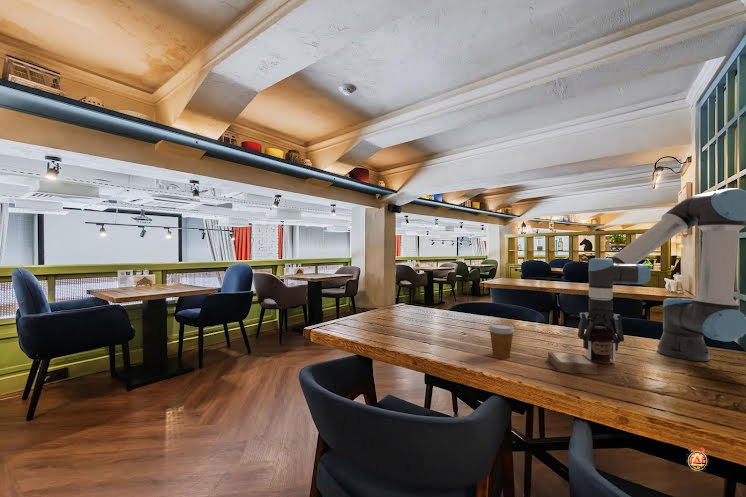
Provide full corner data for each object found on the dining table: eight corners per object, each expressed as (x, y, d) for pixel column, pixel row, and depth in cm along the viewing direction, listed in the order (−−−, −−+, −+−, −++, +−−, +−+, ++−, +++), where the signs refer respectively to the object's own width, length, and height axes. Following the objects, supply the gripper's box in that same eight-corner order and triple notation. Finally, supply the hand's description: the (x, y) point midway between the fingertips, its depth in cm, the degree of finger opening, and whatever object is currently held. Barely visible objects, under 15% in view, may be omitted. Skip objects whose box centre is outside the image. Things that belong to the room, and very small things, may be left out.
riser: (583, 362, 119) (583, 353, 119) (597, 374, 108) (597, 365, 108) (548, 359, 122) (548, 351, 122) (558, 371, 111) (558, 361, 111)
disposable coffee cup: (514, 354, 129) (514, 324, 129) (514, 361, 120) (514, 330, 120) (489, 350, 133) (489, 322, 133) (487, 357, 124) (487, 327, 124)
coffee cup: (619, 366, 115) (619, 331, 115) (593, 364, 117) (594, 329, 117) (606, 358, 124) (606, 325, 124) (583, 356, 126) (583, 324, 126)
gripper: (625, 298, 122) (625, 357, 122) (567, 296, 127) (567, 353, 127) (637, 301, 115) (636, 364, 114) (574, 298, 119) (574, 359, 119)
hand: (600, 358), depth 121 cm, fingers closed on coffee cup, 7 cm apart
